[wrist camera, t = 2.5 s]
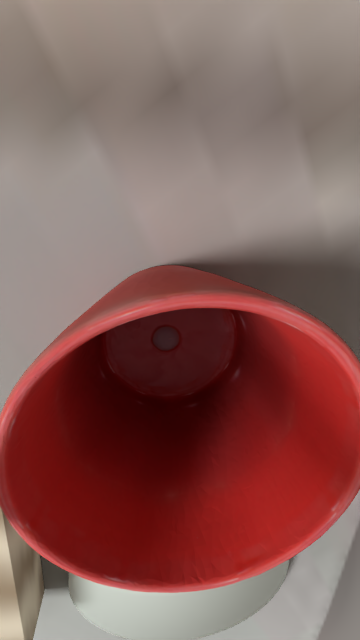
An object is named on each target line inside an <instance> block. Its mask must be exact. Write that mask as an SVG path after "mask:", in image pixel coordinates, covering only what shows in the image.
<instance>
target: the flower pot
mask: <svg viewBox="0 0 360 640" xmlns="http://www.w3.org/2000/svg"><path fill="white" fill-rule="evenodd" d="M359 489H360V362H359V360H358V358H357V357H356V355H355V354H354V353H353V351H352V350H351V348H350V347H349V346H348V345H347V344H346V343H345V342H344V340H343V339H342V338H341V337H340V336H338V335H337V334H336V333H335V332H334V331H333V330H332V329H331V328H329V327H328V326H327V325H326V324H325V323H323V322H322V321H320V320H319V319H317V318H316V317H314V316H313V315H311V314H309V313H307V312H305V311H304V310H302V309H300V308H298V307H296V306H294V305H292V304H290V303H288V302H286V301H284V300H282V299H279V298H277V297H275V296H272V295H270V294H267V293H265V292H263V291H260V290H257V289H255V288H252V287H249V286H246V285H244V284H241V283H238V282H235V281H233V280H230V279H227V278H224V277H221V276H219V275H216V274H212V273H209V272H205V271H201V270H197V269H194V268H190V267H185V266H178V265H163V266H156V267H152V268H148V269H145V270H142V271H139V272H137V273H135V274H133V275H131V276H130V277H128V278H127V279H125V280H124V281H122V282H121V283H120V284H119V285H117V286H116V287H115V288H114V289H112V290H111V291H110V292H109V293H107V294H106V295H105V296H104V297H102V298H101V299H100V300H99V301H98V302H96V303H95V304H94V305H93V306H92V307H91V308H90V309H88V310H87V311H86V312H85V313H84V314H82V315H81V316H80V317H79V318H78V319H77V320H75V321H74V322H73V323H72V324H71V325H70V326H69V327H67V328H66V329H65V330H64V331H63V332H62V333H61V334H60V335H59V336H58V337H57V338H56V339H55V340H54V341H53V342H52V343H51V344H50V345H49V346H48V347H47V348H46V349H45V350H44V351H43V352H42V353H41V354H40V355H39V356H38V357H37V358H36V360H35V361H34V362H33V363H32V364H31V365H30V366H29V368H28V369H27V370H26V371H25V372H24V374H23V375H22V377H21V378H20V379H19V381H18V382H17V384H16V385H15V387H14V388H13V390H12V391H11V393H10V395H9V397H8V398H7V401H6V403H5V405H4V407H3V410H2V412H1V415H0V507H1V509H2V511H3V513H4V514H5V516H6V518H7V519H8V521H9V523H10V524H11V526H12V527H13V528H14V529H15V530H16V532H17V533H18V534H19V535H20V536H21V538H22V539H23V540H24V541H25V542H26V543H27V544H28V545H29V546H30V547H31V548H33V549H34V550H35V551H36V552H37V553H38V554H40V555H41V556H43V557H44V558H46V559H47V560H48V561H50V562H52V563H53V564H55V565H57V566H58V567H60V568H62V569H64V570H66V571H68V572H70V573H72V574H74V575H77V576H79V577H81V578H84V579H87V580H89V581H92V582H95V583H98V584H102V585H105V586H110V587H115V588H120V589H126V590H131V591H139V592H158V593H179V592H193V591H201V590H207V589H213V588H218V587H223V586H227V585H230V584H234V583H237V582H240V581H242V580H245V579H248V578H251V577H254V576H257V575H260V574H262V573H264V572H266V571H268V570H270V569H272V568H274V567H276V566H277V565H279V564H281V563H283V562H285V561H287V560H289V559H290V558H292V557H293V556H295V555H296V554H298V553H300V552H301V551H302V550H304V549H305V548H307V547H308V546H310V545H311V544H312V543H313V542H315V541H316V540H317V539H319V538H320V537H321V536H322V535H323V534H324V533H325V532H326V531H327V530H328V529H329V528H330V527H331V526H332V525H333V524H334V523H335V522H336V521H337V520H338V519H339V518H340V516H341V515H342V514H343V513H344V512H345V510H346V509H347V508H348V506H349V505H350V504H351V502H352V501H353V499H354V498H355V496H356V495H357V493H358V491H359Z"/></svg>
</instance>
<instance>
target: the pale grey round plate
mask: <svg viewBox="0 0 360 640" xmlns="http://www.w3.org/2000/svg"><path fill="white" fill-rule="evenodd" d="M288 566H289V560H287V561H285V562H283V563H281V564H279V565H277V566H276V567H274V568H272V569H270V570H268V571H266V572H264V573H262V574H260V575H257V576H254V577H251V578H248V579H245V580H242V581H240V582H237V583H234V584H230V585H227V586H223V587H218V588H213V589H207V590H201V591H193V592H179V593H158V592H139V591H131V590H126V589H120V588H115V587H110V586H105V585H102V584H98V583H95V582H92V581H89V580H87V579H84V578H81V577H79V576H77V575H74V574H72V573H70V572H69V577H68V587H69V592H70V596H71V599H72V601H73V603H74V605H75V607H76V608H77V610H78V611H79V612H80V613H81V614H82V615H83V616H84V618H85V619H87V620H88V621H89V622H91V623H92V624H93V625H95V626H96V627H98V628H100V629H102V630H103V631H106V632H108V633H110V634H113V635H115V636H119V637H122V638H126V639H131V640H192V639H197V638H202V637H205V636H209V635H212V634H215V633H218V632H221V631H224V630H226V629H228V628H231V627H233V626H235V625H237V624H239V623H241V622H242V621H244V620H246V619H248V618H249V617H251V616H252V615H254V614H255V613H256V612H258V611H259V610H260V609H261V608H263V607H264V606H265V605H266V604H267V603H268V602H269V601H270V600H271V599H272V598H273V597H274V595H275V594H276V593H277V591H278V590H279V589H280V587H281V585H282V583H283V581H284V579H285V577H286V574H287V571H288Z"/></svg>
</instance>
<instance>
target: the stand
mask: <svg viewBox="0 0 360 640" xmlns="http://www.w3.org/2000/svg"><path fill="white" fill-rule="evenodd" d="M43 594H44V582H43V574H42V566H41V558H40V554H38V553H37V552H36V551H35V550H34V549H33V548H31V547H30V546H29V545H28V544H27V543H26V542H25V541H24V540H23V539H22V538H21V536H20V535H19V534H18V533H17V532H16V530H15V529H14V528H13V527H12V526H11V524H10V523H9V521H8V519H7V518H6V516H5V514H4V513H3V511H2V509H1V507H0V640H33V636H34V632H35V628H36V624H37V619H38V615H39V611H40V607H41V603H42V598H43Z"/></svg>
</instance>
